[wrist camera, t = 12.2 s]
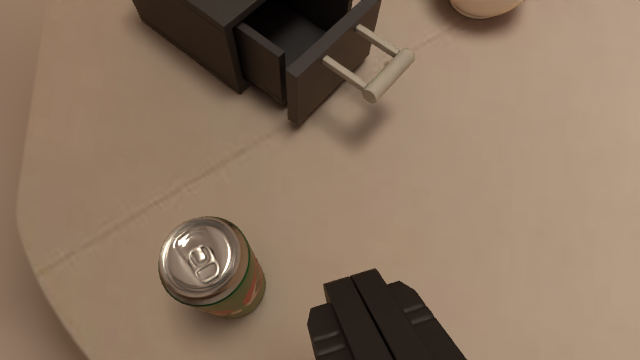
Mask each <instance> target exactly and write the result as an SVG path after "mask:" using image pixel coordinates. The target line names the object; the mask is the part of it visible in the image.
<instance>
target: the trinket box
mask: <svg viewBox="0 0 640 360" xmlns="http://www.w3.org/2000/svg"><path fill="white" fill-rule="evenodd" d="M449 1H450V3H451V5H452V6H453V8H454V9H455V10H456V11H458V12H459V13H460V14H462V15H464V16H466V17H469V18H473V19H486V18H490V17H492V16H497V15H501V14H503V13H506V12H508V11H510V10H512V9H514V8H515V7H517V6H518V5H520V4H521V3H522V2H523V1H524V0H449Z"/></svg>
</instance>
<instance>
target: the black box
mask: <svg viewBox="0 0 640 360" xmlns="http://www.w3.org/2000/svg"><path fill="white" fill-rule="evenodd" d="M132 1H133V3H134V5H135V7H136V9H137V11H138V13H139V15H140V18H141V20H142V21H144V22H145V23H146V24H148V25H149V26H150V27H152V28H153V29H154V30H155V31H157V32H158V33H159V34H161V35H162V36H163V37H165V38H166V39H167V40H169V41H170V42H171V43H173V44H174V45H175V46H177V47H178V48H179V49H181V50H182V51H183V52H184V53H186V54H187V55H188V56H190V57H191V58H192V59H194V60H195V61H196V62H198V63H199V64H200V65H202V66H203V67H204V68H206V69H207V70H208V71H210V72H211V73H212V74H213V75H215V76H216V77H217V78H219V79H220V80H221V81H223V82H224V83H225V84H227V85H228V86H229V87H231V88H232V89H233V90H235V91H236V92H237V93H239V94H241V93H242V92H244V91H245V90H246V89H247V88H248V87H249V86H250V85H251V84H252V82H251V81H250V80H248V79H247V78H246V77H244V76H243V75H242V72H241V68H240V63H239V58H238V54H237V49H236V44H235V40H234V35H233V31H232V28H233V27H234V26H235V25H237V24H238V23H239V22H240V21H242V20H243V19H244V18H245V17H247V16H248V15H249V14H250V13H252V12H253V11H254V10H255V9H256V8H258V7H259V6H260V5H261V4H263V3H264V2H265V1H266V0H132Z"/></svg>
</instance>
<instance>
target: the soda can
mask: <svg viewBox="0 0 640 360" xmlns="http://www.w3.org/2000/svg"><path fill="white" fill-rule="evenodd" d="M158 270H159V276H160V279H161V282H162V284H163V286H164V288H165V290H166V291H167V292H168V293H169V294H170V295H171V296H172V297H173V298H174V299H175V300H177V301H179V302H181V303H183V304H186V305H188V306H191V307H194V308H197V309H200V310H202V311H205V312H208V313H211V314H214V315H216V316H219V317H222V318H226V319H236V318H240V317H243V316H245V315H247V314H249V313H250V312H252V311H253V310H254V309H255V308H256V307H257V306H258V304H259V303H260V301H261V300H262V298H263V295H264V291H265V277H264V273H263V271H262V269H261V267H260V265H259V263H258V261H257V259H256V257H255V255H254V253H253V251H252V249H251V247H250V245H249V243H248V241H247V240H246V238H245V236H244V234H243V233H242V232H241V230H240V229H239V228H238V227H237V226H235V225H234V224H233V223H231V222H229V221H227V220H225V219H222V218H218V217H199V218H194V219H191V220H188V221H186V222H184V223H182V224H180V225H179V226H177V227H176V228H175V229H174V230H173V231H172V232H171V233H170V234H169V235H168V237H167V238H166V240H165V241H164V243H163V245H162V248H161V251H160V256H159V263H158Z"/></svg>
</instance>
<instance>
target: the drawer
mask: <svg viewBox="0 0 640 360" xmlns="http://www.w3.org/2000/svg"><path fill="white" fill-rule="evenodd" d="M352 1H353V0H266V1H265V2H264V3H263V4H261V5H260V6H259V7H258V8H256V9H255V10H254V11H253V12H252V13H250V14H249V15H248V16H247V17H245V18H244V19H243V20H242V21H240V22H239V23H238V24H237V25H235V26H234V27H233V28H232V31H233V35H234V40H235V44H236V49H237V54H238V58H239V63H240V68H241V72H242V75H243V76H244V77H246V78H247V79H248V80H250V81H251V82H252V83H254V84H255V85H256V86H258V87H259V88H260V89H262V90H263V91H265V92H266V93H267V94H269V95H270V96H271V97H273V98H274V99H275V100H277V101H278V102H279V103H281V104H284V103H285V102H286V101H287V106H288V119H289V120H290V121H291V122H293V123H294V124H295V125H297V126H298V125H299V124H300V123H301V122H302V121H303V120H304V119H305V118H306V117H307V116H308V115H309V114H310V113H311V112H312V111H313V110H314V109H315V108H316V107H317V106H318V105H319V104H320V103H321V102H322V101H323V100H324V99H325V98H326V97H327V96H328V95H329V94H330V93H331V92H332V91H333V90H334V89H335V88H336V87H337V86H338V85H339V84H340V83H341V82H342V81H343V80H344V79H345V80H346V81H348V82H349V83H351V84H352V85H354V86H355V87H357V88H358V89H359V90H361V91H362V94H363V97H364V98H365V99H366V100H367V101H368V102H370V103H376V102H377V101H378V99H379V98H380V97H381V96H382V95H383V94H384V93H385V92H386V91H387V90H388V89H389V88H390V87H391V85H392V84H393V83H394V82H395V81H396V80H397V79H398V78H399V77H400V76H401V75H402V74H403V72H404V71H405V70H406V69H407V68H408V67H409V66H410V65H411V64H412V63H413V62H414V60H415V56H414V53H413V52H412V51H411V50H409V49H407V48H404V49H402V50H401V51H400V50H399V49H398V48H396V47H395V46H393V45H392V44H390V43H389V42H387V41H386V40H384V39H383V38H381V37H379V36H378V35H376V34H375V33H374V30H375V26H376V22H377V17H378V13H379V9H380V5H381V0H361V1H360V2H359V3H358V4H357V5H356V6H355V7H353V8H352V9H351V7H352ZM371 43H372V44H374V45H375V46H377V47H378V48H380V49H381V50H383V51H384V52H386V53H387V54H389V55H390V56H392V57H393V59H392V60H391V61H390V63H389V64H388V65H387V66H386V67H385V68H384V69H383V70H382V71H381V72H380V73H379V74H378V75H377V76H376V77H375V78H374V79H373V80H372V81H371V82H370V83H369V84H368V83H367V82H365V81H364V80H362V79H361V78H359V77H358V76H357V75H355V74H354V73H352V71H353V70H354V69H355V68H356V67H357V66H358V65H359V64H360V63H361V62H362V61H363V60H364V59H365V58H366V57H367V56H368V55H369V51H370V47H371Z"/></svg>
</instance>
